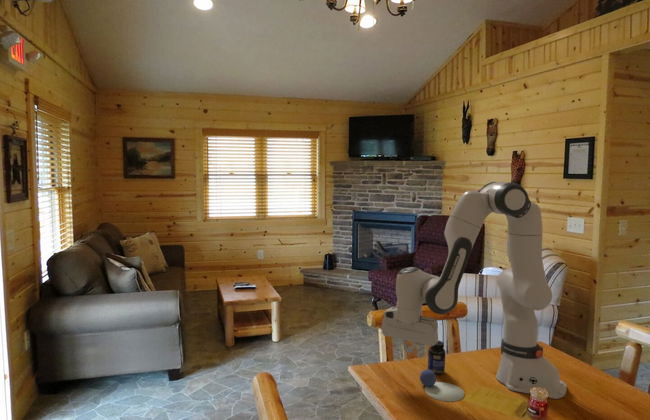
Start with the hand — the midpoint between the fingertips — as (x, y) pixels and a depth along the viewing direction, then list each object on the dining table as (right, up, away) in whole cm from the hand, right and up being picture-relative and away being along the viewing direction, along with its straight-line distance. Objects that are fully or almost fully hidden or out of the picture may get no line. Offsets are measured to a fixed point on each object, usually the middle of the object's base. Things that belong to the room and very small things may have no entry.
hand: (409, 352), depth 159 cm
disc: (+10, -11, -7) cm, 17 cm away
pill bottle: (+11, -10, +8) cm, 17 cm away
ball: (+6, -8, -3) cm, 10 cm away
